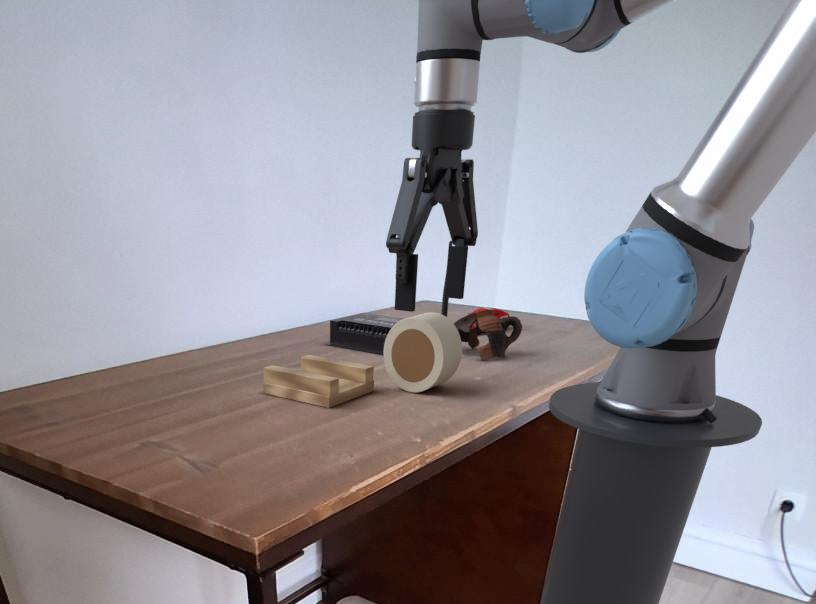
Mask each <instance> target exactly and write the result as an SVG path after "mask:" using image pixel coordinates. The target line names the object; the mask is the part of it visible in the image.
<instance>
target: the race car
mask: <svg viewBox="0 0 816 604" xmlns="http://www.w3.org/2000/svg"><path fill="white" fill-rule="evenodd" d="M487 309H492V310H493V313H494V316H495V317H497V318H498V319H503V318H506V317H510V313H509V312H507V311H505V310H502V309H499V308H495V307H480V308H477V309H474V310H473V311H472V312H468V313H467V315H469V314H472V313H475V312H478V311H482V310H487ZM475 327H476V324H475V323H474V324H473V326H472V328H471V329H473V328H475ZM481 333H484V332H483V331H479V332H478V333H477V336H479V335H480V334H481Z"/></svg>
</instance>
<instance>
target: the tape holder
mask: <svg viewBox="0 0 816 604" xmlns="http://www.w3.org/2000/svg"><path fill="white" fill-rule="evenodd" d="M374 369H375V368H374V365H368V364H363V363H358V362H352V361H346V360H340V359H336V358H330V357H325V356H324V357H323V356H318V355H313V354H307V355H302V356H301V357H300V369H294V368H289V367H284V366H279V365H274V364H272V365H268V366H265V367H263V382H262V387H263V388H262V391H263V392H262V393H263V394H265V395H270V396H275V397H278V398H283V399H288V400H292V401H296V402H301V403H306V404H310V405H315V406H318V407H323V408H327V409H330V408H332V407H336V406H337V405H338V406H339V405H340V404H343V403H346V402H349V401H351V400H353V399H356V398H358V397H362V396H364V395H366V394H369V393H372V392H374V391H375V380H374V373H375V372H374V371H375V370H374Z"/></svg>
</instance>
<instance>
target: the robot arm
mask: <svg viewBox="0 0 816 604" xmlns="http://www.w3.org/2000/svg"><path fill="white" fill-rule="evenodd" d="M677 1H678V0H418V13H417V14H418V15H417V16H418V17H417V18H418V19H417V20H418V21H417V43H416V44H417V45H416V46H417V47H416V51H417V52H416V58H415V64H416V65H415V77H414V79H413V84H414V96H413V104H414V106H415V107H416V108H418V111H416V112H415V113H414V115H412V125H411V127H412V130H411V148H412V149H413V150H415V151H419V152H420V153H419V157H406V158H404V160H403V168H402V178H401V182H400V183H401V184H400V187H399V192H398V195H397V198H396V202H395V207H394V210H393V213H392V218H391V222H390V225H389V228H388V233H387V236H386V240H385V247H386V248H387V249H388V252H389V253H390V254H395V255H396V258H395V259H396V260H395V289H394V290H395V293H394V296H395V297H394V310H395V311H400V312H401V311H403V312H411V313H413V312H416V301H417V300H416V299H417V283H418V266H419V254H418V253H415V250H416V249H417V246H418V243H419V240H420V239H421V236H422V234H423V232H424V229H425V227H426V225H427V222H428V220H429V218H430V215H431V212H432V210H433V208H434V207H435V206H437V205H438V204H440V205H441V207H442V210H443V214H444V218H445V222H446V225H447V229H448V232H449V236H450V239H451V241H452V246H449V245H448V248H447V249H448V250H447V261H446V270H447V272H446V271H445V277H446V284H445V298H449V299H456V300H462V299H464V297H465V296H464V294H465V285H466V275H467V266H468V253H469V247H475V246H476V244H477V239H478V237H479V228H478V218H477V207H476V197H475V185H474V171H475V170H474V166H475V164H474V163H475V162H474V159H472V158H469V159H467V158H466V159H462V152H463V151H467V150H470V149H472V147H473V141H474V132H475V121H476V115H475V113H474V111H472V107H475V106H476V104H478V103H477V102H478V92H479V91H478V90H479V80H480V65H481V54H482V46H483V41H493V40H498V39H509V38H520V37H522V38H523V37H528V38H531V39H535V40H538V41H542V42H545V43H549V44H552V45H556V46H559V47H561V48H565V49H566V50H568V51H570V52H573V53H575V54H576V53H577V54H586V53H593V52H594V53H595V52H598V51H600V50H602V49H604V48H606V47H607V46H609V44H611V42H612V41H614V39H615V38H616V37H617V36H618V34H620V32H621V31H622V29H624V28H626V27H628V26H629V25H631V24H633V23H635V22H637V21H639V20H641V19H643V18H645V17H647V16H649V15H651V14H653V13H655V12H657V11H659V10H661V9H663V8H665V7H666V6H670V5H671V4H673V3H675V2H677ZM815 134H816V0H790V1H789V3H788V4H787V6H786V7H785V9H784V10H783V11H782V14H781V15H780V16H779V18H778V19H777V21H776V23H775V24H774V26H773V27H772V28H771V31H770V32H769V33H768V35H767V36H766V38H765V40H764V41H763V42H762V44H761V46H760V47H759V49H758V51H757V52H756V54H755V55H754V57H753V58H752V60H751V61H750V63H749V64H748V66H747V67H746V70H744V73H743V74H742V76H741V77H740V79H739V80H738V82H737V83H736V85H735V87H734V88H733V89H732V91H731V92H730V94H729V95H728V98H727V99H726V100H725V102H724V104H723V105H722V107H721V108H720V110H719V112H718V113H717V114H716V116H715V117H714V119H713V120H712V123H711V124H710V126H708V129H707V130H706V132H705V133H704V135H703V136H702V138H701V139H700V141H699V143H698V144H697V146H696V147H695V148H694V150H693V152H692V154H691V155H690V157H689V158H688V160H687V161H686V163H685V165H684V166H683V167H682V169H681V171H680V172H679V173H678V175H677V176H676V177H675V178H673V179H672V180H669V181H667V182H664V183H661V184H658V185H656V186H654V187H653V188H652V189H651V191H650V192H649V193H648V196H647V197H646V198H645V200H644V202H643V203H642V205H641V207H640V208H639V210H638V211H637V213H636V215H635V216H634V218H633V219H632V220H631V222H630V224H629V225H628V227H627V229H626V230H625V232H624V233H621V234H619V235H617V236H616V237H614V238H613V240H612V241H611V242H610V243H608V244H607V245H606V246H605V247H604V248H603V249H602V250H601V251H600V252H599V254H598V255H597V256H596V258H594V259H595V260H594V261H593V263H592V264H591V267H590V269H589V271H588V274H587V276H586V280H585V284H584V293H583V294H584V296H583V297H584V298H583V299H584V304H585V310H586V315H587V318H588V320H589V322H590V325H591V327H592V329H594V331H595V332H596V333H597V334H598V335H599V336H600V338H602V339H603V340H604V341H606V342H607V343H609V344H611V345H613V346H614V347H615V346H616V347H618V348H619V349H618V351H617V353H616V354H615V356H614V358H613V360H612V362H610V365H609V367H608V369H607V371H606V372H605V374H603V375H604V376H603V377H602V379H601V381H600V382H601V383H600V385H599V387H598V389H597V393H596V397H595V404H596V406H597V407H598V408H600V409H601V410H603V411H605V412H607V413H610V414H613V415H616V416H619V417H623V418H627V419H631V420H636V421H642V422H650V423H660V424H689V423H696V422H701V421H704V420H708V421H709V422H710V423H713V422H714V421H715V420H716V419H717V418H716V417H715V416H714V415H713V413H712V412H713V409H714V406H715V403H716V400H715V399H716V395H717V387H716V386H717V385H716V381H717V380H716V356H717V355H716V354H717V350H718V347H719V344H720V341H721V337H722V335H723V331H724V329H725V325H726V322H727V318H728V315H729V313H730V309H731V306H732V304H733V300H734V297H735V294H736V291H737V289H738V285H739V282H740V278H741V275H742V272H743V269H744V265H745V262H746V260H747V257H748V255H749V253H750V252H751V249H752V239H753V236H754V231H755V223H754V220H753V219H752V218H753V216H754V215H755V214H756V212H757V211H758V210H759V208H760V207H761V206H762V204H763V203H764V201H766V199H767V198H768V196H769V195H770V193H772V191H773V190H774V188H775V187H776V186H777V184H778V183H779V182H780V180H781V179H782V178H783V176H784V175H785V174H786V173H787V171H788V170H789V168H790V167H791V166H792V164H793V163H794V162H795V160H796V159H797V158H798V156H799V155H800V154H801V152H802V151H803V150H804V148H805V147H806V146H807V144H808V143H809V141H810V140H811V139H812V138H813V136H814V135H815Z"/></svg>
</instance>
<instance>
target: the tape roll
mask: <svg viewBox="0 0 816 604" xmlns="http://www.w3.org/2000/svg"><path fill="white" fill-rule="evenodd" d="M383 354H384V355H383V362H384V367H385V370H386V372H387V374H388V376H389V378H390V379H391V381H392V382H393V383H394V384H395V385H396V386H397V387H399V388H400V389H401V390H403V391H405V392H409V393H421V392H425V391H427V390H429V389H432V388H434V387H436V386H439V385H441V384H443V383H446V382H447V381H448V380H450V379H451V378H452V377H453V376H454V375H455V374H456V372H457V370H458V369H459V366H460V364H461V360H462V357H463V356H462V354H463V344H462V341H461V338H460V335H459V332H458V330H457V328H456V327H455V325H454V322H453V321H452V320H450V318H449V317H448V316H447V317H446V316H444V315H442V314H441V313H439V312H434V311H430V312H424V313H421V314H416V315H413V316H409V317H405V318H403V320H401V321H399V322H398V323H396V324H395V325H394V326H393V327H392V328H391V330H390V331H389V333H388V335H387V337H386V340H385V344H384V352H383Z"/></svg>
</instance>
